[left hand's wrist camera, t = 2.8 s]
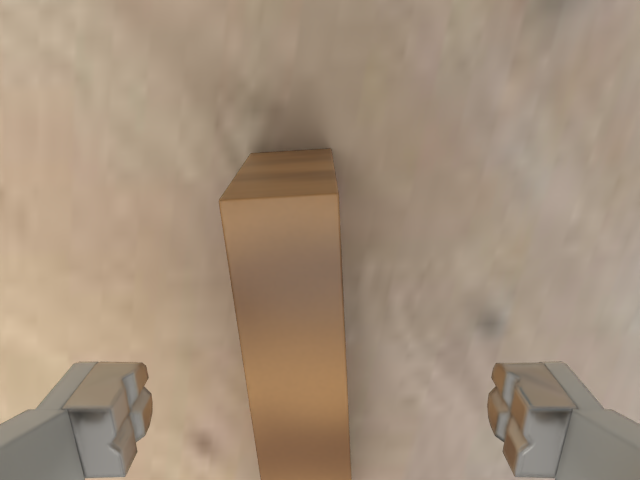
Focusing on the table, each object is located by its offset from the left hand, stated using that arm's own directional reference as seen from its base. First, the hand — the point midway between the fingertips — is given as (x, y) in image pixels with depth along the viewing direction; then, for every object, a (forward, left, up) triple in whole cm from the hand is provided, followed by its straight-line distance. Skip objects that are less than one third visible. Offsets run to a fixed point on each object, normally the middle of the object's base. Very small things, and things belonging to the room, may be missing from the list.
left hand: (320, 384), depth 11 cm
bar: (+11, -1, -18) cm, 21 cm away
